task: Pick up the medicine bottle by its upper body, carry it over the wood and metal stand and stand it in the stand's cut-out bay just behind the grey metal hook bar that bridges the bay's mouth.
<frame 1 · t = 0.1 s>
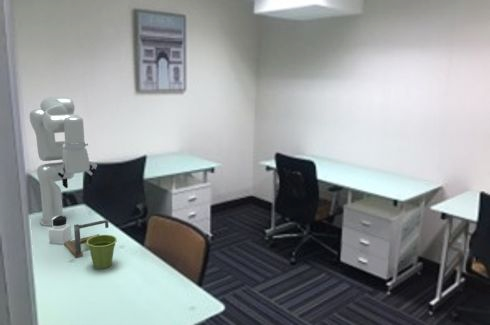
hand: (77, 185, 172), 31 cm above the table, tool pointing down, fingers open, 9 cm apart
medicine bottle: (60, 241, 190), on the table
plant pot: (103, 265, 168), on the table
wood and metal stand: (88, 246, 184), on the table
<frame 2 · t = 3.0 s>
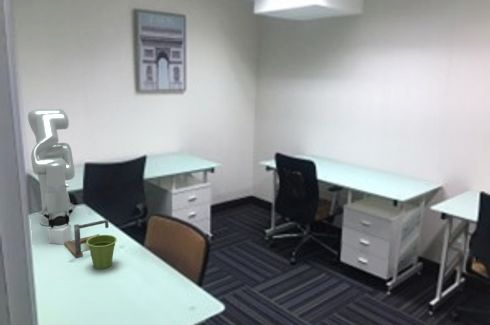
hand: (59, 224, 188), 8 cm above the table, tool pointing down, fingers closed on medicine bottle, 6 cm apart
medicine bottle: (60, 241, 190), on the table, touching gripper
everything else where it was.
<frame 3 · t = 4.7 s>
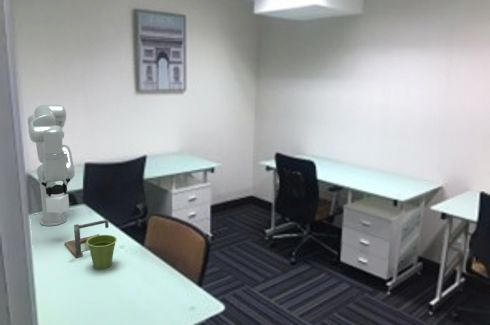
hand: (56, 193, 185), 23 cm above the table, tool pointing down, fingers closed on medicine bottle, 6 cm apart
medicine bottle: (58, 210, 187), point 15 cm above the table, touching gripper
everything else where it was.
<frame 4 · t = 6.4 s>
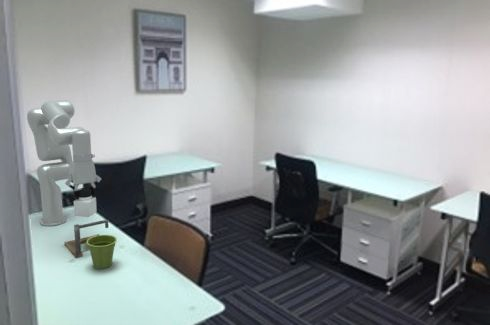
hand: (84, 197, 179), 24 cm above the table, tool pointing down, fingers closed on medicine bottle, 6 cm apart
medicine bottle: (85, 214, 181), point 16 cm above the table, touching gripper
everything else where it was.
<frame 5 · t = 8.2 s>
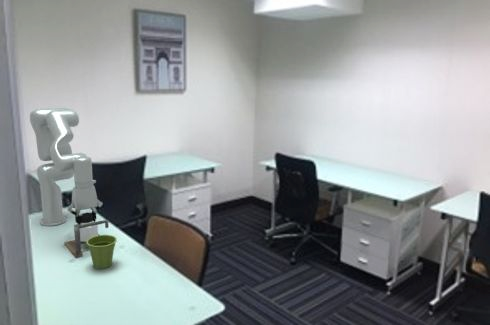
hand: (86, 221, 182), 12 cm above the table, tool pointing down, fingers closed on medicine bottle, 6 cm apart
medicine bottle: (87, 238, 184), point 4 cm above the table, touching gripper
everything else where it was.
when the fingers open (10 cm above the table, at t = 9.3 s): medicine bottle stays where it is, resting on wood and metal stand.
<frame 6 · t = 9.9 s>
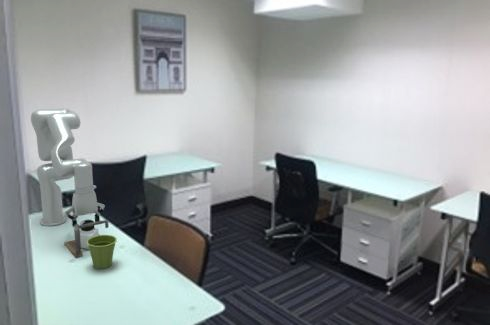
hand: (86, 225, 183), 10 cm above the table, tool pointing down, fingers open, 9 cm apart
medicine bottle: (87, 245, 185), point 1 cm above the table, touching wood and metal stand
everything else where it was.
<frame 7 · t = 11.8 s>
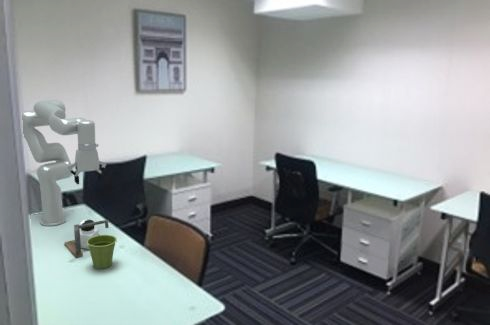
hand: (88, 182, 190), 27 cm above the table, tool pointing down, fingers open, 9 cm apart
nothing on the table moved.
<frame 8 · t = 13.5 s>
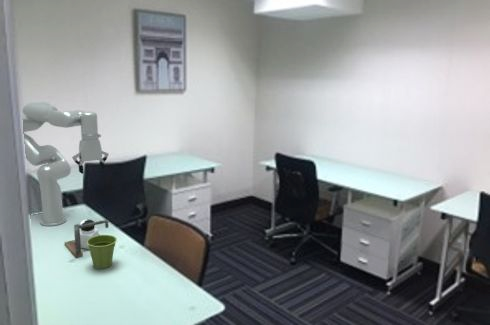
hand: (91, 171, 198), 30 cm above the table, tool pointing down, fingers open, 9 cm apart
nothing on the table moved.
at the end: medicine bottle inside the target area (0.7 cm from its centre), point 0.7 cm above the table; medicine bottle tilted 8°; the gripper is holding nothing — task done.
